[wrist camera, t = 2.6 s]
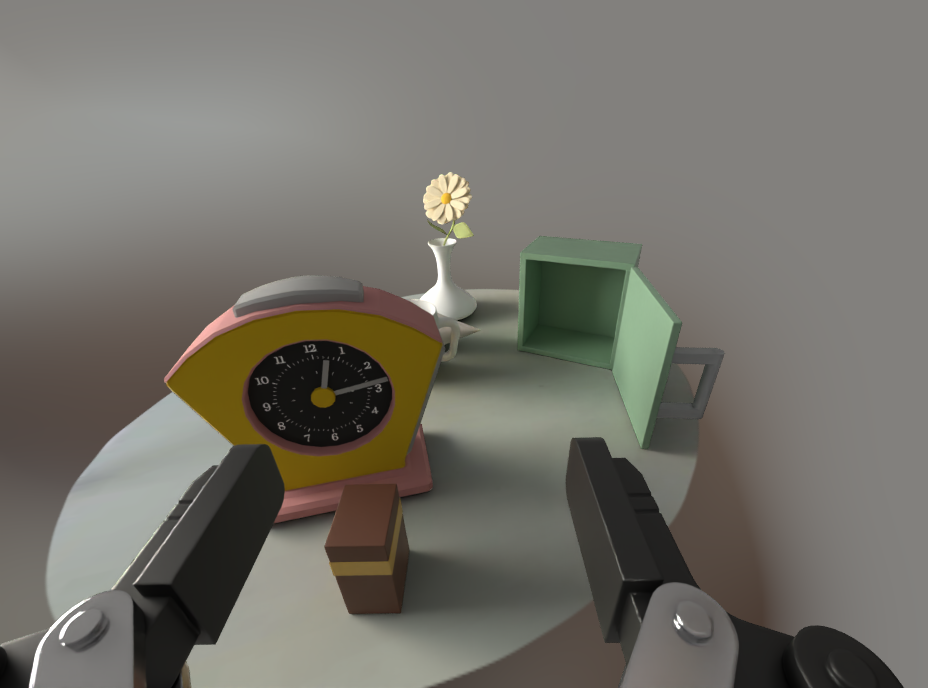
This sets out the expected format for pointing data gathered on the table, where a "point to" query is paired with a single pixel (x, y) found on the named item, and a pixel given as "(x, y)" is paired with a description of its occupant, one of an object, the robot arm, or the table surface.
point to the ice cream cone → (464, 331)
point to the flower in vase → (448, 243)
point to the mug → (442, 323)
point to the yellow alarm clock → (319, 385)
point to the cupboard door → (655, 360)
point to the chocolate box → (369, 548)
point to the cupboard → (574, 298)
